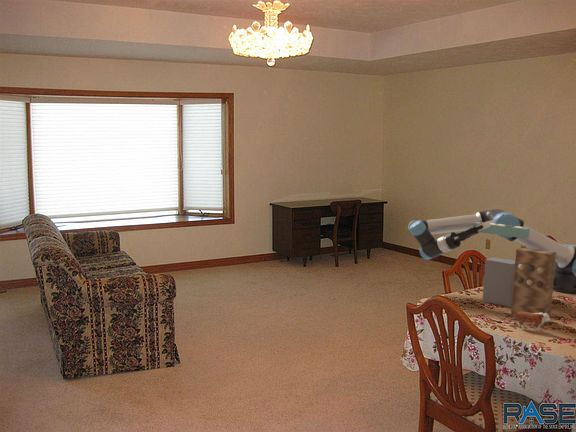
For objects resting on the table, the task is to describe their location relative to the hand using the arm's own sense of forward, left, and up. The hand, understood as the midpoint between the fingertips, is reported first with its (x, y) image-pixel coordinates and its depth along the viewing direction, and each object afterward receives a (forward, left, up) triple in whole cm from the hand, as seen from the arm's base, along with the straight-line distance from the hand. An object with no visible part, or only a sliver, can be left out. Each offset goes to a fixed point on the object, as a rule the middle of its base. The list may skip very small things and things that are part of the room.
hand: (491, 222), depth 279 cm
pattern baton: (-4, +1, -5) cm, 6 cm away
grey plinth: (-5, -7, -38) cm, 39 cm away
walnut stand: (-19, +14, -38) cm, 45 cm away
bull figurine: (-20, +29, -39) cm, 52 cm away
